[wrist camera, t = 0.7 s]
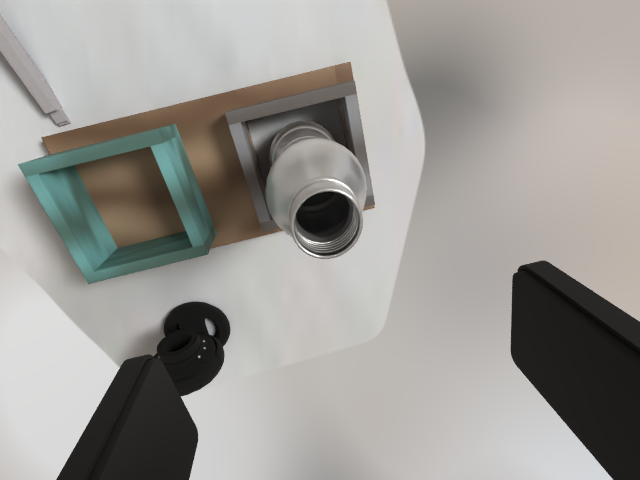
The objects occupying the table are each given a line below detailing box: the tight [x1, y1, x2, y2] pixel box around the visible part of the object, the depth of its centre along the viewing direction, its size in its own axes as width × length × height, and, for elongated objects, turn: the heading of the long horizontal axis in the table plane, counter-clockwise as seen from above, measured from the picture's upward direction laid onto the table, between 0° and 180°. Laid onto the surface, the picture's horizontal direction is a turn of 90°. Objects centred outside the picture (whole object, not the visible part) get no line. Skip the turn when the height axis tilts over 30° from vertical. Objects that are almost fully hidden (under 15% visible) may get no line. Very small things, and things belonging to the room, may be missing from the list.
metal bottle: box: [265, 121, 367, 259], centre depth 26 cm, size 6×7×20 cm
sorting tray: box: [18, 62, 375, 284], centre depth 32 cm, size 14×28×6 cm, turn 103°
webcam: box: [154, 302, 230, 396], centre depth 38 cm, size 8×8×10 cm
